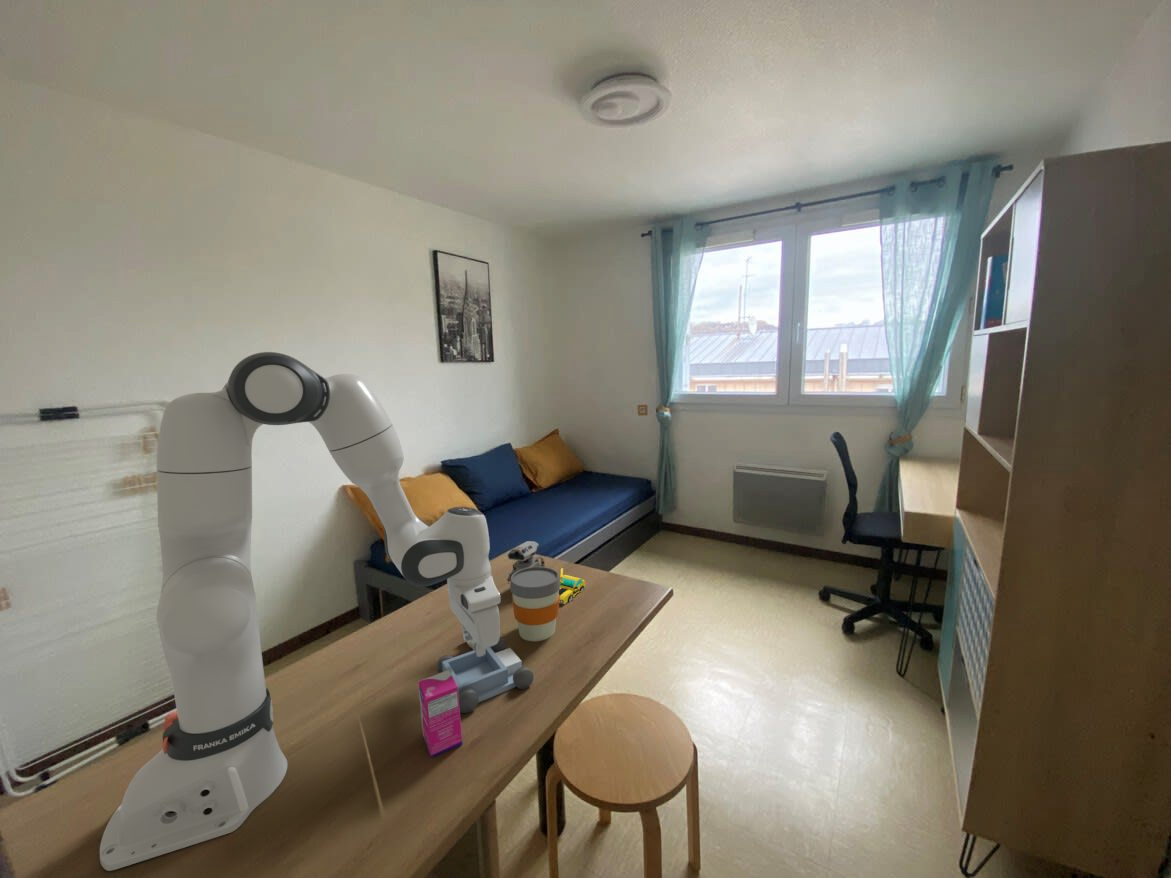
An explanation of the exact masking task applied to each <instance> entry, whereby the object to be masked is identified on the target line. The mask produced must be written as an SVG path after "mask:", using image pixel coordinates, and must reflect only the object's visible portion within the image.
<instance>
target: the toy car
mask: <svg viewBox="0 0 1171 878" xmlns="http://www.w3.org/2000/svg"><path fill="white" fill-rule="evenodd" d="M559 577H560V584H561V587H560V589H559V595H560V601H559V604H562V605H566V604H567V603H570V602H572V601H573V600H574V597H576V596H577V595H578V594H579V593H580V592H579V591H581V590H583V589H584V590H585V588H586V580H585V579H583V578H580V577H575V576H571V575H567V574H564V568H563V567H561V568H560V575H559ZM584 587H585V588H584ZM584 590H583V591H584ZM578 592H579V593H578ZM577 593H578V594H577ZM576 594H577V595H576ZM575 595H576V596H575ZM571 600H572V601H571ZM569 601H570V602H569Z"/></svg>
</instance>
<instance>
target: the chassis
mask: <svg viewBox="0 0 1171 878" xmlns="http://www.w3.org/2000/svg"><path fill="white" fill-rule="evenodd" d="M507 647H508V645H507V642H506V641H505V640H504V638H502V637H501V636H500V638H499V641H498V643H497V644H496V645H493V646H491V647H488V648H485V651H486V653H485V655H483V656H481V657H478V656H477V655H476V654H475V650H471V651H468V652H466V653H462V654H460V655H457V656H454V657H453V656H452V655H451V654H444V655H442V656H440V657H439V659H437V661H436V663H435V668H436V671H437V672H438V673H437V674H439V673H441V672H444V671H446V670H449V671H450V673H451V675H452V677H453V678H454V680H455V682H456V684H457V686H458V695H459V706H460V713H462V714H469V713H471V712H473V711H474V710H475V709H476V708H477V707H478V705H479V703H481V702H484V701H485V700H486V701H487V700H488V699H491V698H493V697H495V696H498V695H500V694H502V693H505V692H507V691H510V690H512V689H514V688H516V687H517V688H518V689H519V690H525V689H527V688H529V687H530V686H531V685H532V684H533V681H534V672H532V670H531V669H530V667H528V666H525V665H523V663H522V659H520V657H519V656H518V655H517V654H516V653H515V651H514V650H513V649H512V648H510V647H508V648H507Z"/></svg>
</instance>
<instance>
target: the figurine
mask: <svg viewBox="0 0 1171 878" xmlns="http://www.w3.org/2000/svg"><path fill="white" fill-rule="evenodd" d="M539 546H540V545H539V543H538V542H537V541H534V540H527V541H525V542H522V543H520V542H518V543H517V546H516V547H514V548H512V549H511V550H510V551H509V552H508V553H507V558H508V560H511V561H515V562H514V563H513V564H512V571H511V572H509V573H508V577H507V583H510V582H511V576H512V575H513V574H514V573H515V572H517V571H518V570H521V569H524V568H528V567H546V564H545V559H544V558H542V557H541V556H539V557H535V555H536V553H537V549H538V548H539Z"/></svg>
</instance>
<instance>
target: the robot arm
mask: <svg viewBox="0 0 1171 878" xmlns="http://www.w3.org/2000/svg"><path fill="white" fill-rule="evenodd" d="M299 423H309V424H310V425H312V426H313V427H314V428H315V430H316V431H317V432H318V434H319V435H320V436H321V438H322V440H323V443H324V444H325V446H326V449H327V450H328V452H329V454H330V455H331V457H332V459H333V461H334V462H335V464H336V465H337V466H338V467H339V469H340V471H342V473H343V475H344V476H345V477H346V478H347V479H348V480H349V481H350V482H351V483H352V484H353V485H354V486H357V488H359V489H361V490H362V491H363V492H364V494H365V495H366V496H367V498H368V499H369V501H370V503H371V506H372V508H373V509H374V511H375V514H376V515H377V516H378V517H377V518H378V519H379V521H380V522H381V525H382V528H383V530H384V531H383V532H384V551H385V554H386V556H387V558H388V559H389V560H390V562H392V563H393V564H394V565H395V567H396V568H397V570H398V571H399V572H400V574H401V575H402V576H403V578H404V580H406V581H407V582H408V583H409V584H411V585H413V586H416V587H422V588H423V587H429V586H430V587H431V586H433V585H435V584H438V583H441V582H443V581H447V582H446V583H447V593H448V597H449V598H448V601H449V602H448V604H449V608H450V610H451V611H452V613H453V614H454V615H455V617H456V618H457V619H458V620H459V622H460V626H461V630H462V636H463V640H464V639H465V640H466V641H468V640H471V639H474V640H475V642H476V646H474V649H475V654H476V655H477V656H478V657H481V656H483V655H485V653H486V651H485V648H488V647H491V646H493V645H496V644H497V643H498V641H499V638H500V637H501V629H500V628H501V627H500V625H501V623H500V618H501V617H500V610H499V606H498V605H499V604H500V603H501V599H502V598H501V593H500V592H499V590H498V588H497V586H496V584H495V582H494V578H493V575H492V565H491V562H490V559H489V555H490V550H491V549H490V548H491V547H490V546H491V545H490V536H489V535H490V534H489V533H490V532H489V527H488V523H487V518H486V516H485V515H484V514H483V512H482V511H480V510H479V509H476V508H473V507H469V506H455V507H450V508H448V509H447V510H446V511H445V513H444V514H443V515H442V516H441V517H440V518H439V519H438V520H437V521H435V522H433V523H432V524H430V525H429V524H428V523H427V522H426V521H424V520H423V519H421V518H420V517H419V516H417V515H416V514H415V512H414V510H413V509H412V507H411V504H410V502H409V500H408V498H407V496H406V494H405V491H404V489H403V488H402V485H401V482H400V477H399V476H400V475H399V474H400V470H401V468H402V466H403V464H404V460H405V458H404V452H403V448H402V445H401V441H400V439H399V437H398V434H397V431H396V429H395V427H394V425H393V424H392V421H391V419H390V417H389V415H388V414H387V412H386V410H385V407H384V406H383V405H382V403H381V401H380V400H379V399H378V398H377V396H376V395H375V393H374V391H373V390H372V389H371V388H370V386H369V385H368V384H367V382H366V381H365V380H364V379H362V378H361V377H360V376H357V375H354V374H350V373H349V374H348V373H346V374H345V373H342V374H341V373H340V374H334V375H331V376H328V377H323V376H322V375H320V373H317V372H315V370H313V369H311V368H310V367H309V366H307V365H306V364H304V363H303V362H302V361H300V360H298V359H296V358H294V357H292V356H289V355H287V354H284V353H280V352H273V351H263V352H256V353H253V354H250V355H248V356H247V357H244V358H243V359H241V360H240V361H239V362H238V363H237V364H236V365H235V366H234V367H233V369H232V371H231V372H230V375H229V377H228V380H227V382H226V383H225V384H224V386H223V387H222V389H221V390H218V391H214V392H195V393H188V394H185V395H181V396H178V397H176V398H174V399H172V400H171V401H170V402H169V403H168V404H167V405H166V407H165V409H164V411H163V415H162V419H161V422H160V427H159V432H158V439H157V447H156V448H157V449H156V485H157V486H156V488H157V489H156V493H157V494H156V495H157V498H156V499H157V527H158V531H159V532H158V533H159V541H160V550H161V551H160V553H161V565H162V585H161V592H160V596H159V601H158V605H157V610H156V623H157V628H158V629H157V630H158V633H159V638H160V642H161V646H162V649H163V650H162V651H163V653H164V658H165V663H166V665H167V668H168V670H169V674H170V677H171V684H172V689H173V696H174V700H175V701H174V702H175V709H176V711H172V712H170V713H168V714H167V715H166V717H165V719H164V722H163V725H162V728H163V730H164V731H163V734H162V749H160V751H159V752H158V753H157V754H155V755H154V756H153V757H151V759H150V760H149V761H147V762H146V763H145V764H143V766H141V768H139V770H138V771H137V772H136V773H135V775H134V776H133V777H132V779H131V781H130V782H129V785H128V786H127V789H126V790H125V792H124V796H123V798H122V801H121V804H120V805H119V807H117V809H116V810H115V811H114V813H113V814H112V815H111V817H110V820H108V823H107V825H106V827H105V829H104V831H103V835H102V837H101V841H100V845H99V862H100V865H101V866H102V868H103V869H104V870H106V871H108V872H112V871H115V870H119V869H122V868H124V867H127V866H131V865H133V864H136V863H140V862H144V861H146V860H150V859H152V858H153V859H154V858H157V857H159V856H162V855H165V854H168V853H171V852H175V851H177V850H181V849H184V848H186V847H191V846H193V845H197V844H200V843H203V842H206V841H209V840H212V839H216V838H219V837H221V836H225V835H227V834H230V833H233V832H235V831H236V830H237V829H238V828H239V827H240V826H242V825H243V823H244V822H245V821H246V819H248V817H249V815H250V814H251V813H252V812H253V811H254V810H255V809H256V808H257V807H258V806H260V805H261V804H262V803H263V802H264V801H265V800H266V799H268V798H269V797H270V796H271V795H272V794H273V793H274V791H275V790H277V788H278V787H279V785H281V783H282V781H283V780H284V778H285V776H286V773H287V770H288V760H287V758H286V756H285V755H284V753H283V751H282V750H281V747H280V745H279V743H278V740H277V737H276V734H275V730H274V727H273V725H274V720H275V719H274V707H273V700H272V697H271V693H270V690H269V689H268V687H267V686H266V678H265V670H264V662H263V661H264V660H263V654H262V647H261V646H262V644H261V636H260V625H259V616H258V607H257V600H256V599H257V598H256V592H255V587H254V582H253V576H252V569H251V567H252V566H251V552H252V551H251V545H252V543H251V541H252V526H253V525H252V524H253V523H252V522H253V471H252V470H253V468H252V467H253V466H252V465H253V458H252V455H253V454H252V447H253V446H252V445H253V439H254V435H255V433H256V432H257V431H258V429H259V428H260V427H261V426H263V425H267V426H287V425H295V424H299ZM465 640H464V641H465ZM466 641H465V642H466Z"/></svg>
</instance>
